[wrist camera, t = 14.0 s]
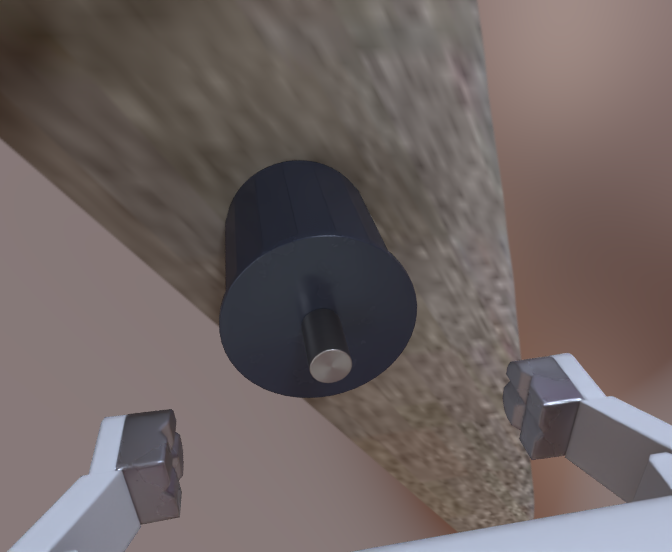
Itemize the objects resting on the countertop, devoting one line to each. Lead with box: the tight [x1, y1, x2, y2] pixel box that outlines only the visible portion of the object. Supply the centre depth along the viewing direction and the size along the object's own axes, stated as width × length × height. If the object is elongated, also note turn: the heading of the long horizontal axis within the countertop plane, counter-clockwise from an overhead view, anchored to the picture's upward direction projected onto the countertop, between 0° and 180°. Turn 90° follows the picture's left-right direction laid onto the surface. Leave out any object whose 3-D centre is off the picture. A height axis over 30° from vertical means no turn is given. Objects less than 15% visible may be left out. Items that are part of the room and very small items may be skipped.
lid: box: [219, 231, 417, 398], centre depth 34 cm, size 12×12×5 cm
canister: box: [225, 160, 388, 290], centre depth 41 cm, size 11×11×12 cm
